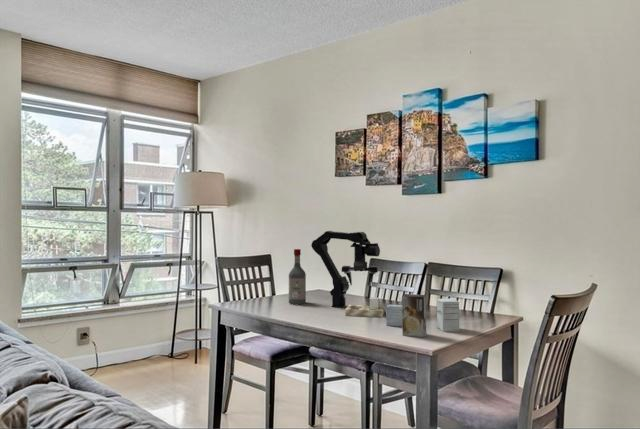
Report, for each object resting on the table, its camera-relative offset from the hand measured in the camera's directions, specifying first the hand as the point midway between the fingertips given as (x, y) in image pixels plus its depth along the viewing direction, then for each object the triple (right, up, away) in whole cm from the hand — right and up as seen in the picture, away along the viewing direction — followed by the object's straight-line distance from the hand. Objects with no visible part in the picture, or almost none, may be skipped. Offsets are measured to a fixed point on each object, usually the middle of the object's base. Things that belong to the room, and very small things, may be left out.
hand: (359, 285), depth 252 cm
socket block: (+1, -12, -14) cm, 18 cm away
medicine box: (+13, -12, -39) cm, 43 cm away
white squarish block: (+6, -12, -14) cm, 20 cm away
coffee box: (+17, -12, -56) cm, 60 cm away
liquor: (-34, -12, +16) cm, 39 cm away
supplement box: (+33, -12, -47) cm, 59 cm away
